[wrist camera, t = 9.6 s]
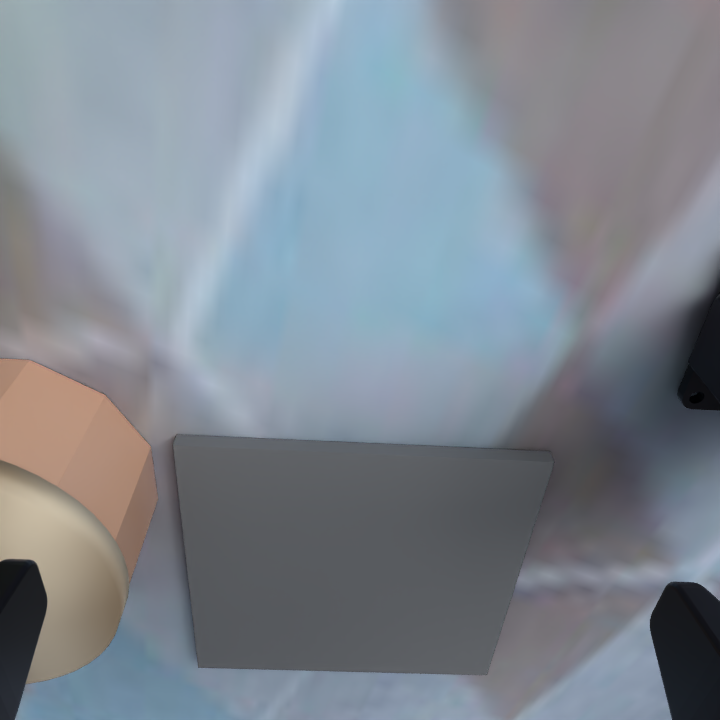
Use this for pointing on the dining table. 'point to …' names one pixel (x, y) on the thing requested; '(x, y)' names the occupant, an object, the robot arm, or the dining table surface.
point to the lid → (63, 570)
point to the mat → (353, 551)
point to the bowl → (79, 449)
